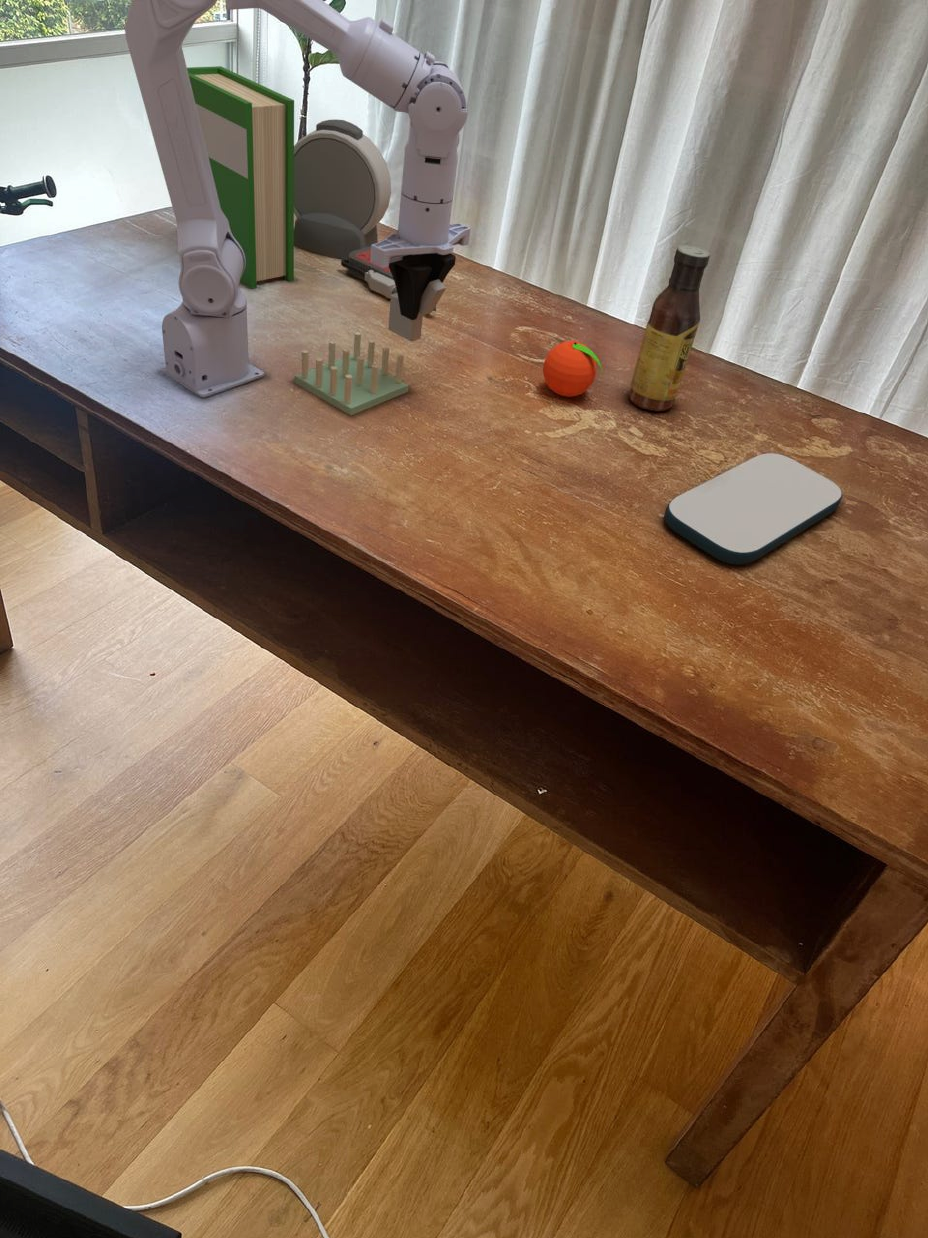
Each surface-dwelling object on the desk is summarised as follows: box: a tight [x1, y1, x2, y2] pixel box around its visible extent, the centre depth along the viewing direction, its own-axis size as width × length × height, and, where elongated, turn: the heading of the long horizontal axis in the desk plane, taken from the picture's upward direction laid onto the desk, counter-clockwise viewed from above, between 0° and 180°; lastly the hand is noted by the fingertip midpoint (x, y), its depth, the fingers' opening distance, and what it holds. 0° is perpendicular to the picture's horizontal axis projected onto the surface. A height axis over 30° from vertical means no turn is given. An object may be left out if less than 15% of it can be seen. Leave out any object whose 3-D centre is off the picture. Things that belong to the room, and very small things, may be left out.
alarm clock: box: [294, 119, 392, 260], centre depth 140 cm, size 16×10×18 cm, turn 74°
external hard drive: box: [663, 452, 843, 566], centre depth 101 cm, size 24×12×2 cm, turn 133°
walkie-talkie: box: [340, 246, 437, 312], centre depth 134 cm, size 9×4×20 cm
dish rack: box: [294, 331, 410, 417], centre depth 110 cm, size 10×10×4 cm
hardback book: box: [187, 65, 295, 290], centre depth 128 cm, size 18×7×24 cm, turn 43°
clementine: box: [542, 340, 603, 398], centre depth 115 cm, size 8×7×7 cm
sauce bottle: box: [628, 244, 711, 412], centre depth 113 cm, size 6×6×20 cm
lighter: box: [387, 279, 447, 342], centre depth 106 cm, size 7×2×8 cm, turn 49°
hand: (414, 314), depth 107 cm, fingers closed on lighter, 2 cm apart
